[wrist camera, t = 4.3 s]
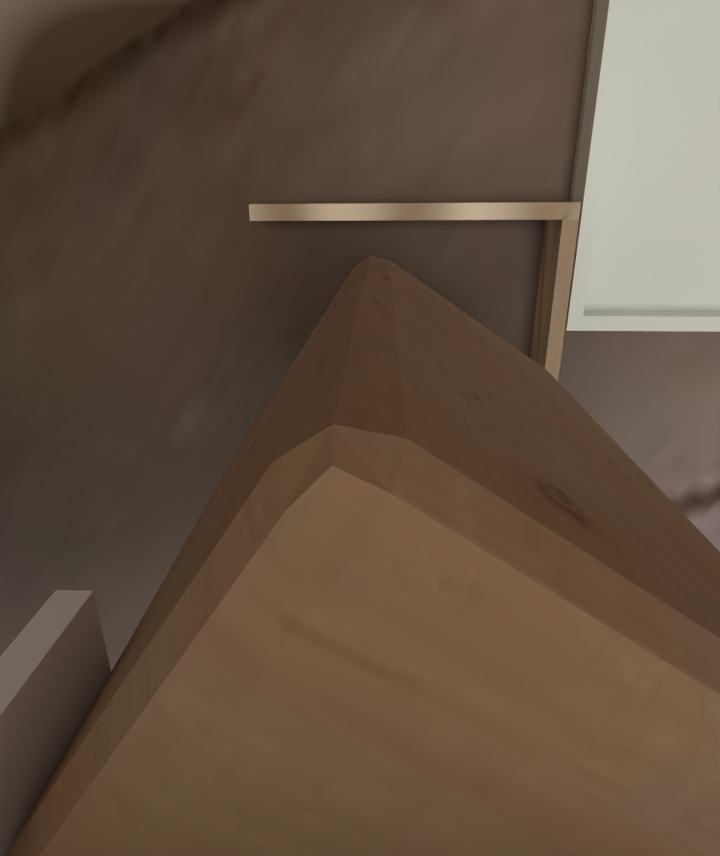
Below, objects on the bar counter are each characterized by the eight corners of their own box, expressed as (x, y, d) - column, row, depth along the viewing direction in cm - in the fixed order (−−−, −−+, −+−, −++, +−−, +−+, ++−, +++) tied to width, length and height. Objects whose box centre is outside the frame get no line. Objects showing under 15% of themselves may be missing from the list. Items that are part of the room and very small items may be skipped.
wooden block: (369, 242, 23) (312, 423, 5) (558, 375, 25) (1064, 890, 6) (248, 430, 26) (-65, 972, 8) (423, 535, 28) (499, 1178, 10)
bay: (280, 468, 38) (269, 492, 35) (263, 203, 32) (248, 204, 29) (529, 472, 38) (542, 498, 34) (561, 201, 31) (581, 202, 28)
